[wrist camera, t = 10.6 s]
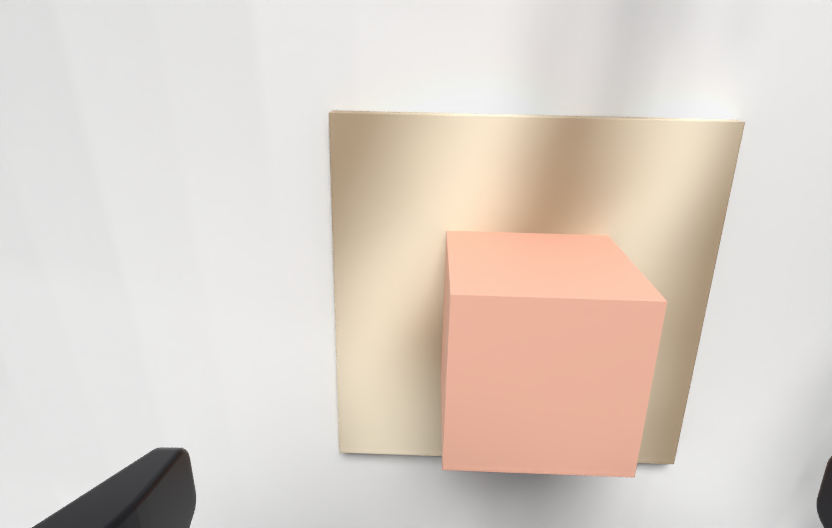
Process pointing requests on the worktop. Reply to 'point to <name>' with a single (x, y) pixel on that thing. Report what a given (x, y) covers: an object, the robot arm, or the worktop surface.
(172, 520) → the robot arm
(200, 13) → the worktop surface
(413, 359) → the birch board
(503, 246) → the coral cube
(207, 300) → the worktop surface
